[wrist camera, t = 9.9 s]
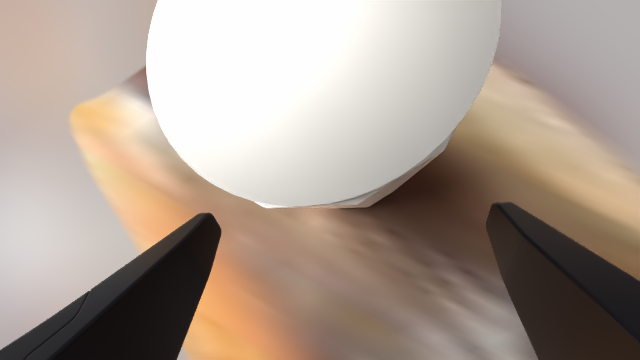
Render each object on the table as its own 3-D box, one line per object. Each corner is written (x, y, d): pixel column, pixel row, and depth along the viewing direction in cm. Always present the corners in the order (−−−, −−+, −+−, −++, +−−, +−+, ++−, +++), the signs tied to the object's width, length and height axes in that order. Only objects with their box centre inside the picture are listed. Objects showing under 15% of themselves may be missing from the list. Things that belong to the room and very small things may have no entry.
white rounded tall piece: (408, 206, 15) (529, 197, 3) (304, 209, 16) (137, 212, 5) (400, 102, 16) (477, -187, 4) (301, 113, 17) (153, -83, 6)
